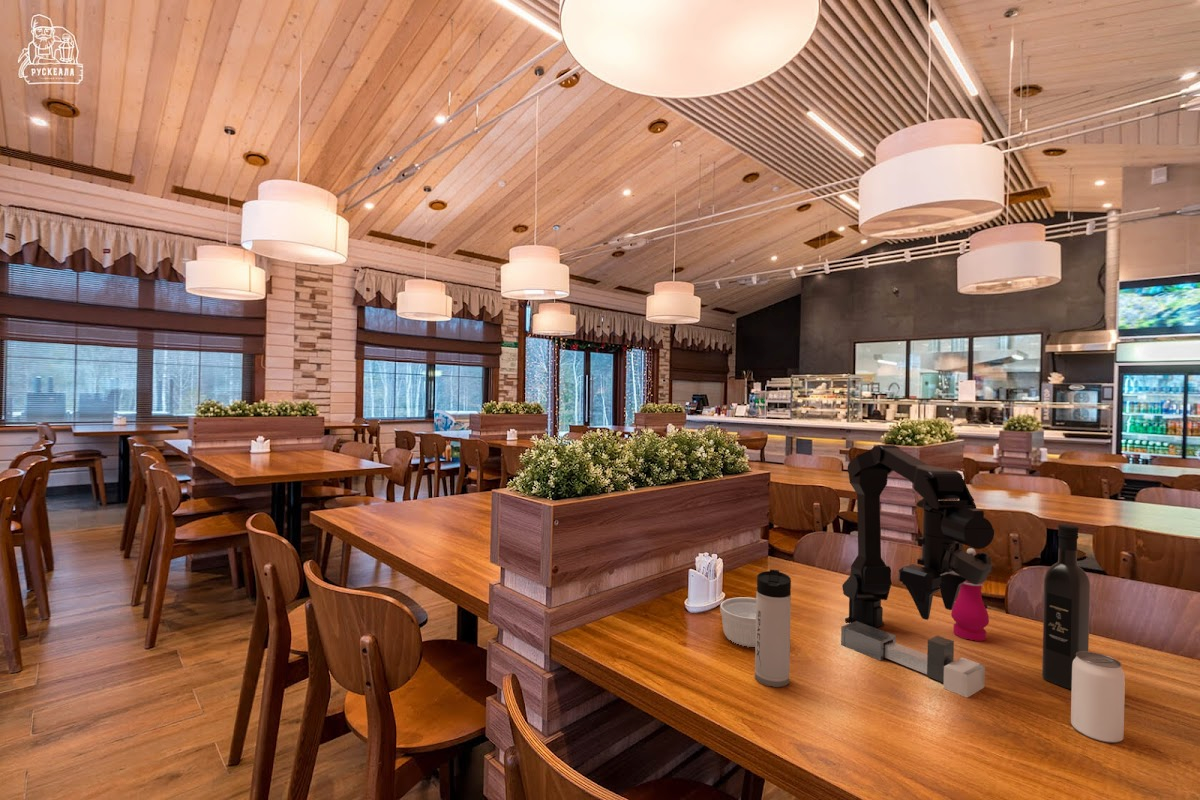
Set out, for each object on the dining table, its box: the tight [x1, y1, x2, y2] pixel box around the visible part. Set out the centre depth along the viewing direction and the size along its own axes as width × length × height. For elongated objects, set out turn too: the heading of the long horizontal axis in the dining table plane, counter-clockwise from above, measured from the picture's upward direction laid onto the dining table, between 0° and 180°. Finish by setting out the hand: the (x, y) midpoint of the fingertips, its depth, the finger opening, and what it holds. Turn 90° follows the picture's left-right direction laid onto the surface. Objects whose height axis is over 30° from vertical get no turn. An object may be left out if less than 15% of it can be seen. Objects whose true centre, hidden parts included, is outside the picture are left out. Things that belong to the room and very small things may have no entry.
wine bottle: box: [1041, 524, 1091, 691], centre depth 109 cm, size 6×6×30 cm
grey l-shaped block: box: [883, 635, 955, 684], centre depth 112 cm, size 16×4×7 cm, turn 34°
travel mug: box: [754, 569, 792, 688], centre depth 108 cm, size 6×7×20 cm
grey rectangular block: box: [943, 656, 986, 699], centre depth 106 cm, size 4×7×4 cm, turn 124°
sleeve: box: [840, 621, 896, 662], centre depth 122 cm, size 9×6×4 cm, turn 34°
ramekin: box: [719, 596, 756, 648], centre depth 127 cm, size 13×13×7 cm
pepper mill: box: [950, 547, 990, 642], centre depth 130 cm, size 7×7×20 cm
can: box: [1070, 650, 1126, 744], centre depth 93 cm, size 6×6×12 cm
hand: (937, 614), depth 111 cm, fingers open, 9 cm apart
